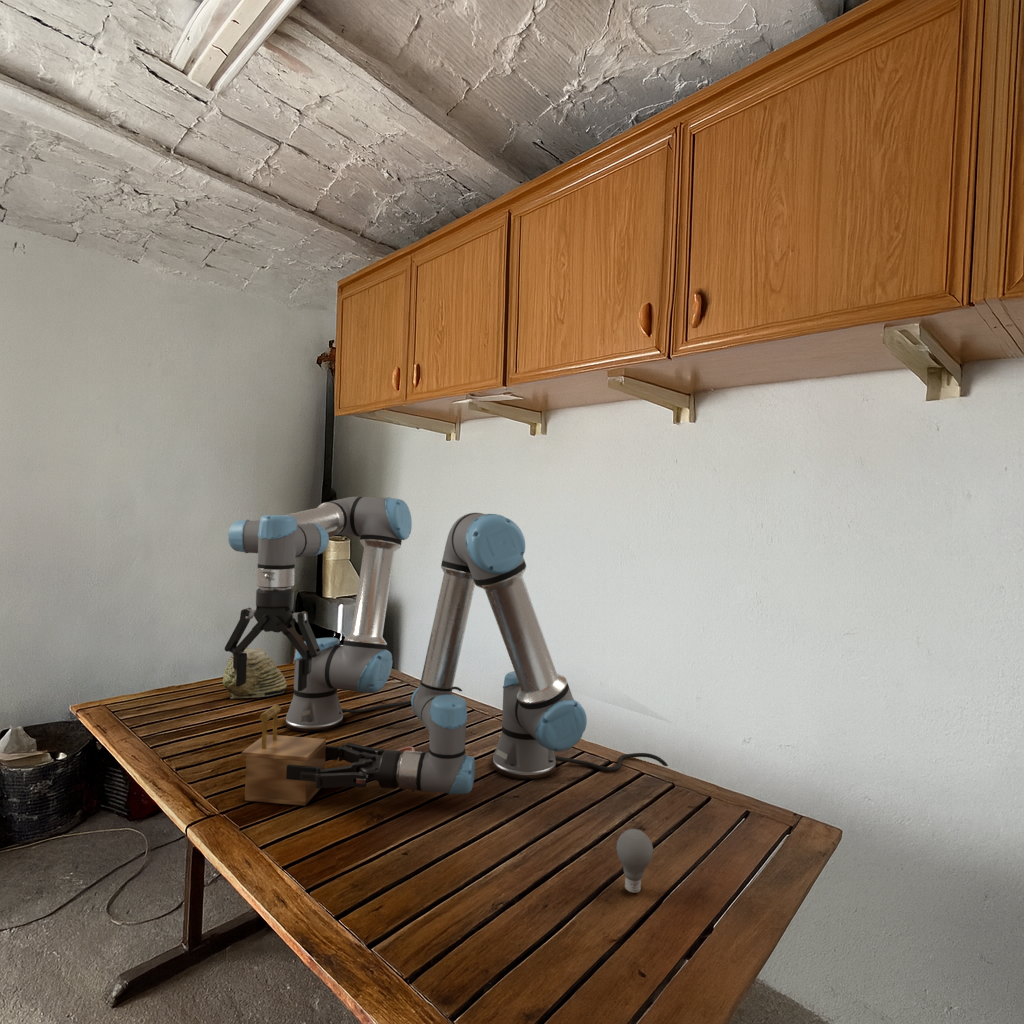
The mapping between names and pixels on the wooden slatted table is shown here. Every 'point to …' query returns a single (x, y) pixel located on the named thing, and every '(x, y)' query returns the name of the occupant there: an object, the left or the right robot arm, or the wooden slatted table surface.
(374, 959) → the wooden slatted table surface
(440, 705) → the right robot arm
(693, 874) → the wooden slatted table surface
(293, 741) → the lid
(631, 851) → the light bulb
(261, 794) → the chest
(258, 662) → the fossil
